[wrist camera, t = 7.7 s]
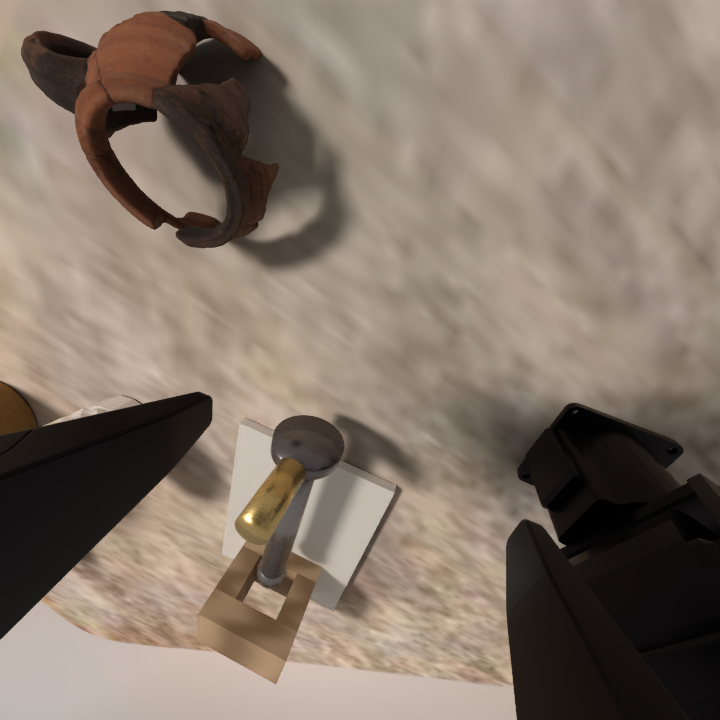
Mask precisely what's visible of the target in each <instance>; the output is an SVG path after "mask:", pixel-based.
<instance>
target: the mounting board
mask: <svg viewBox="0 0 720 720" xmlns="http://www.w3.org/2000/svg"><path fill="white" fill-rule="evenodd" d="M273 433H274V430H272V429H269V428H267V427H265V426H263V425H260V424H258V423H256V422H254V421H251V420H249V419H247V418H245V419H244V420H243V421H242V422H240V425H239V433H238V440H237V447H236V454H235V462H234V469H233V476H232V484H231V491H230V498H229V506H228V513H227V520H226V527H225V535H224V542H223V549H222V554H223V555H225V556H227V557H229V558H231V559H233V560H234V559H235V557H236V556H237V554H238V553H239V551H240V549H241V548H242V546H243V545H244V543H245V542H246V540H245V539H243V538H242V537H241V536H240V535H239V534H238V532H237V531H236V529H235V520H236V519H237V518H238V516H239V515H240V514H241V512H242V511H243V509H244V508H245V507H246V505H247V504H248V503H249V501H250V500H251V499H252V497H253V496H254V495H255V493H256V492H257V490H258V489H259V488H260V486H261V485H262V484H263V482H264V481H265V480H266V478H267V477H268V475H269V474H270V473H271V471H272V470H273V469H274V467H275V466H276V464H275V463H274V461H273V459H272V457H271V452H270V448H271V442H272V437H273ZM395 489H396V485H395V484H393V483H390V482H388V481H386V480H384V479H381V478H379V477H377V476H375V475H372V474H370V473H368V472H366V471H363V470H361V469H359V468H357V467H354V466H352V465H350V464H348V463H346V462H343V461H341V460H340V462H339V465H338V467H337V468H336V469H335V471H334V472H332V473H331V474H330V475H328V476H326V477H324V478H321V479H317V480H314V483H313V486H312V490H311V493H310V496H309V499H308V502H307V505H306V508H305V511H304V514H303V517H302V520H301V523H300V527H299V530H298V533H297V536H296V539H295V542H294V545H293V548H292V551H291V552H293V553H295V554H297V555H299V556H301V557H303V558H305V559H307V560H309V561H311V562H313V563H315V564H317V565H319V566H321V567H322V568H321V570H320V573H319V576H318V578H317V581H316V583H315V586H314V589H313V591H312V594H311V597H310V599H311V600H313V601H315V602H317V603H319V604H321V605H323V606H325V607H327V608H329V609H331V610H334V609H335V607H336V605H337V603H338V601H339V599H340V597H341V595H342V593H343V591H344V589H345V587H346V585H347V584H348V582H349V580H350V578H351V576H352V574H353V572H354V570H355V568H356V566H357V564H358V562H359V560H360V559H361V557H362V555H363V553H364V551H365V549H366V547H367V545H368V543H369V541H370V539H371V537H372V535H373V534H374V532H375V530H376V528H377V526H378V524H379V522H380V520H381V518H382V516H383V514H384V512H385V510H386V509H387V507H388V505H389V503H390V501H391V499H392V497H393V495H394V493H395Z"/></svg>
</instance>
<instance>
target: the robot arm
mask: <svg viewBox="0 0 720 720" xmlns="http://www.w3.org/2000/svg"><path fill="white" fill-rule="evenodd" d="M212 402H213V401H212V398H211V396H209V395H207V394H204V393H201V392H194V393H190V394H185V395H181V396H176V397H172V398H167V399H163V400H158V401H154V402H149V403H145V404H140V405H136V406H131V407H127V408H122V409H118V410H113V411H109V412H104V413H100V414H95V415H91V416H86V417H82V418H77V419H73V420H68V421H64V422H59V423H55V424H50V425H46V426H41V427H37V428H35V429H27V430H23V431H18V432H14V433H10V434H5V435H0V639H2V638H3V637H4V636H5V635H6V634H7V633H8V632H9V631H10V630H11V629H12V628H13V627H14V626H15V625H16V624H17V623H18V622H19V621H20V620H21V619H22V618H23V617H24V616H25V615H26V614H27V613H28V612H29V611H30V610H31V609H32V608H33V607H34V606H35V605H36V604H37V603H38V602H39V601H40V600H41V599H42V598H43V597H44V596H45V595H46V594H47V593H48V592H49V591H50V590H51V589H52V588H53V587H54V586H55V585H56V584H57V583H58V582H59V581H60V580H61V579H62V578H63V577H64V576H65V575H66V574H67V573H68V572H69V571H70V570H71V569H72V568H73V567H74V566H75V565H76V564H77V563H78V562H79V561H80V560H81V559H82V558H83V557H84V556H85V555H86V554H87V553H88V552H89V551H90V550H91V549H92V548H93V547H95V546H96V545H97V544H98V543H99V542H100V541H101V540H102V539H103V538H104V537H105V536H106V535H107V534H108V533H109V532H110V531H111V530H112V529H113V528H114V527H115V526H116V525H117V524H118V523H119V522H120V521H121V520H122V519H123V518H124V517H125V516H126V515H127V514H128V513H129V512H130V511H131V510H132V509H133V508H134V507H135V506H136V505H137V504H138V503H139V502H140V501H141V500H142V499H143V498H144V497H145V496H146V495H147V494H148V493H149V492H150V491H151V490H152V489H153V488H154V487H155V486H156V485H157V484H158V483H159V482H160V481H161V480H162V479H163V478H164V477H165V476H166V475H167V474H168V473H169V472H170V471H171V470H172V469H173V468H174V467H175V466H176V465H177V464H178V462H179V461H180V460H181V459H182V458H183V457H184V455H185V454H186V453H187V452H188V451H189V449H190V448H191V447H192V446H193V445H194V443H195V442H196V441H197V440H198V439H199V437H200V436H201V435H202V434H203V433H204V431H205V430H206V429H207V428H208V427H209V425H210V423H211V421H212ZM574 410H578V412H577V413H575V414H571V412H572V411H574ZM669 448H672V449H671V450H667V449H669ZM682 453H683V448H682V447H681V446H680V445H679V444H678V443H677V442H676V441H674V440H671V439H669V438H666V437H664V436H661V435H658V434H656V433H653V432H651V431H648V430H645V429H643V428H640V427H638V426H635V425H632V424H630V423H627V422H625V421H622V420H619V419H617V418H614V417H612V416H609V415H606V414H604V413H601V412H599V411H596V410H593V409H591V408H588V407H586V406H583V405H580V404H577V403H571V404H568V405H567V406H566V407H565V408H564V409H563V410H562V412H561V413H560V414H559V416H558V417H557V418H556V420H555V421H554V422H553V423H552V425H551V426H550V427H549V428H547V429H545V430H544V432H543V433H542V434H541V436H540V437H539V438H538V440H537V441H536V442H535V444H534V445H533V446H532V447H531V449H530V450H529V451H528V453H527V454H526V456H525V457H526V459H525V460H524V461H523V463H522V464H521V465H520V467H519V468H518V470H517V474H518V477H519V479H520V480H522V481H524V482H527V483H529V484H531V485H534V486H535V487H536V491H537V494H538V497H539V500H540V502H541V505H542V507H543V508H546V509H548V511H549V514H550V517H551V520H552V523H553V526H554V529H555V531H556V534H557V537H558V540H559V542H560V543H562V544H564V545H567V546H565V547H563V548H561V549H559V547H558V546H557V545H556V543H555V542H554V541H553V539H552V538H551V537H550V535H549V534H548V533H547V531H546V530H545V529H544V528H543V527H542V526H541V525H539V524H537V523H535V522H532V521H530V520H527V519H524V520H522V521H521V522H520V523H519V524H518V526H517V527H516V528H515V530H514V531H513V532H512V534H511V535H510V537H509V538H508V541H507V545H506V611H507V626H508V636H509V645H510V655H511V665H512V675H513V685H514V694H515V705H516V715H517V720H720V487H719V486H717V485H716V484H715V483H713V482H712V481H710V480H709V479H707V478H706V477H705V476H703V475H702V474H700V473H699V474H697V475H695V476H693V477H691V478H690V479H688V480H687V482H688V483H687V484H685V485H683V486H681V485H680V484H679V483H678V482H677V481H676V480H675V479H674V477H673V476H672V475H671V474H670V473H669V472H668V471H667V470H666V468H667V467H668V466H669V465H671V464H672V463H673V462H674V461H675V460H676V459H677V458H678V457H679V456H680V455H681V454H682ZM524 473H528V474H526V475H525V474H524Z"/></svg>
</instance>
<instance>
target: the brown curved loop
mask: <svg viewBox="0 0 720 720" xmlns="http://www.w3.org/2000/svg"><path fill="white" fill-rule="evenodd" d="M208 38H214V39H216V40H218V41H219V42H221V43H222V44H224V45H225V46H226V47H228V48H229V49H230V50H232V51H233V52H234V53H236V54H237V55H238V56H239V57H241V58H242V59H244V60H247V59H249V58H252V59H254V60H259V59H260V57H261V53H260V51H259V49H258V48H257V47H256V46H255V45H254V44H253V43H252V42H250V41H249V40H248V39H246V38H245V37H244V36H242V35H240V34H238V33H236V32H234V31H232V30H230V29H227V28H225V27H223V26H222V25H220V24H218V23H217V22H215V21H211V20H208V19H206V18H205V17H202V16H196V15H194V14H188V13H185V12H181V11H176V12H170V11H160V12H143V13H140V14H136V15H134V17H133V18H130V19H127V20H124V21H123V22H121V23H120V24H117V25H115V26H114V27H112V28H111V29H110V30H109V31H108V32H106V33H104V34H103V35H102V37H101V39H100V41H99V44H98V48H95V47H93V46H91V45H88V44H86V43H84V42H81V41H78V40H75V39H72V38H69V37H66V36H63V35H60V34H55V33H50V32H47V31H36V32H34V33H33V34H32V35H30V36H27V37H26V38H25V39H24V41H23V45H22V48H21V55H22V59H23V61H24V62H25V64H26V66H27V68H28V70H29V73H30V76H31V78H32V80H33V81H34V83H35V84H36V85H37V86H38V87H39V88H40V89H41V90H42V91H43V92H44V93H45V95H46V96H47V97H49V98H50V99H51V100H52V101H54V102H55V103H56V104H58V105H59V106H61V107H63V108H64V109H66V110H68V111H70V112H72V113H73V114H75V125H76V130H77V135H78V138H79V142H80V144H81V148H82V150H83V151H84V153H85V155H86V158H87V160H88V162H89V164H90V165H91V167H92V169H93V170H94V172H95V173H96V175H97V176H98V177H99V179H100V180H101V182H102V183H103V184H104V186H105V187H106V188H107V189H108V191H109V192H110V193H111V194H112V196H113V197H114V198H116V199H117V200H118V201H119V202H120V203H121V205H122V206H123V207H124V208H125V209H127V210H128V211H129V212H130V213H131V214H132V215H133V216H134V217H136V218H137V219H138V220H139V221H141V222H142V223H143V224H145V225H146V226H148V227H150V228H152V229H154V230H155V229H157V228H159V227H160V226H161V225H162V223H165V222H166V223H168V224H170V225H172V226H173V227H175V228H177V229H179V230H178V231H177V232H176V237H177V238H178V239H179V240H181V241H182V242H183V243H184V244H186V245H187V246H190V247H197V248H214V247H219V246H222V245H224V244H226V243H227V242H229V241H230V240H231V239H235V238H239V237H243V236H245V235H247V234H249V233H250V232H252V231H253V230H255V229H256V228H257V227H258V221H260V220H262V219H263V217H264V214H265V211H266V203H267V197H268V194H269V191H270V188H271V185H272V183H273V182H274V180H275V178H276V175H277V172H278V169H279V166H278V164H272V165H269V164H264V163H262V162H259V161H255V160H252V159H249V158H246V157H244V156H242V151H243V149H244V147H245V146H246V144H247V142H248V134H249V125H248V112H249V108H250V102H249V99H248V97H247V95H246V93H245V91H244V90H243V88H242V86H241V84H240V83H239V82H238V81H237V80H236V79H235V78H230V79H229V80H228V81H225V82H222V83H221V84H220V85H217V84H213V83H203V84H199V85H176V81H177V76H178V73H180V72H181V70H182V66H183V65H184V64H185V63H186V62H187V60H189V59H190V58H191V57H192V56H193V54H194V52H195V49H196V44H197V43H199V42H200V41H202V40H204V39H208ZM157 111H159V112H160V113H162V114H163V115H165V116H166V117H168V118H169V119H171V120H172V121H173V122H175V123H176V124H178V125H179V126H180V127H181V128H183V129H184V130H185V131H186V132H187V133H188V134H189V135H190V136H191V137H192V138H193V139H194V140H195V141H196V142H197V143H198V145H199V146H200V147H201V148H202V149H203V151H204V152H205V153H206V154H207V156H208V157H209V158H210V160H211V162H212V163H213V164H214V166H215V168H216V170H217V172H218V173H219V175H220V176H221V179H222V182H223V186H224V188H225V192H226V198H227V206H228V207H227V215H226V218H225V220H224V221H223V223H222V224H221V225H219V226H217V225H216V220H215V219H214V218H213V217H211V216H207V215H204V214H200V213H196V212H188V213H187V214H185V216H184V217H183V218H176V217H174V216H173V215H171V214H169V213H168V212H166V211H165V210H163V209H162V208H161V207H160V206H158V205H157V204H156V203H155V202H153V201H152V200H151V199H150V198H149V197H148V196H147V195H146V194H145V193H144V192H143V191H142V190H140V188H139V187H138V186H137V185H136V184H135V182H134V181H133V180H132V179H131V177H130V176H129V175H128V174H127V172H126V171H125V169H124V168H123V167H122V165H121V164H120V162H119V160H118V159H117V157H116V155H115V153H114V151H113V150H112V149H111V146H110V143H109V140H108V138H110V137H111V136H112V135H113V134H114V132H115V131H119V130H121V129H123V128H125V127H127V126H129V125H134V124H139V123H142V122H155V121H156V120H157ZM216 226H217V227H216Z"/></svg>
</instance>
